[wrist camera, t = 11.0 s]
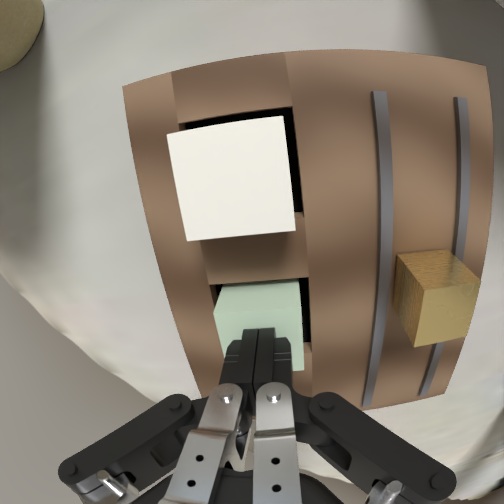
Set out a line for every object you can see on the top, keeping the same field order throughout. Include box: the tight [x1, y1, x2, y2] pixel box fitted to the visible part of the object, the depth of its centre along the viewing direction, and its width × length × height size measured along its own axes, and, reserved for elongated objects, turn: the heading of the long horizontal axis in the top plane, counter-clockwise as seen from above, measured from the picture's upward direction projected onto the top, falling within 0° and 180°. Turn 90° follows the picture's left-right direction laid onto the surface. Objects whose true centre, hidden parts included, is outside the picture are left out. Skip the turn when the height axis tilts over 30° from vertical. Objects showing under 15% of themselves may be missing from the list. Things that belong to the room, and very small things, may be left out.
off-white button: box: [167, 116, 296, 241], centre depth 12 cm, size 4×4×5 cm
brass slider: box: [392, 249, 481, 347], centre depth 12 cm, size 3×3×4 cm
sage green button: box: [213, 278, 304, 371], centre depth 17 cm, size 4×4×5 cm
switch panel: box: [122, 49, 494, 419], centre depth 17 cm, size 22×18×6 cm
